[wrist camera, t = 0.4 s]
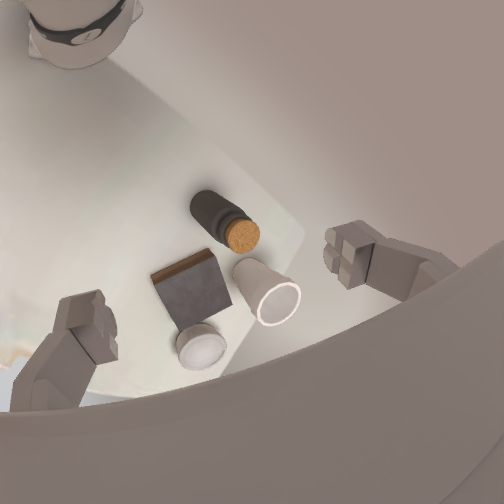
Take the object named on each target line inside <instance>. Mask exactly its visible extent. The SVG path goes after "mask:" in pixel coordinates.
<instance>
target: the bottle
mask: <svg viewBox="0 0 504 504" xmlns="http://www.w3.org/2000/svg"><path fill="white" fill-rule="evenodd" d="M190 211H191V214H192V216H193V217H194V218H195V219H196V220H197V222H198V223H199V224H200V225H201V226H202V227H203V228H204V229H205V230H206V231H207V232H208V233H209V234H210V235H211V236H212V237H213V238H214V239H215V240H217V241H218V242H220V243H222V244H224V245H225V246H226V247H228V248H230V249H231V250H232V251H234V252H236V253H240V254H242V253H246V252H249V251H250V250H252V249H253V248H254V247H255V246H256V244H257V243H258V240H259V237H260V231H259V227H258V226H257V224H256V223H254V222H253V221H252V220H251V218H249V217H248V216H247V215H246V214H245V212H244V211H243V210H242V209H240V208H239V207H238V206H236V205H234V204H233V203H231V202H230V201H228V200H226V199H225V198H223V197H222V196H220V195H218V194H217V193H215V192H213V191H209V190H205V191H202V192H199V193H198V194H197V195H196V196H195V197H194V198H193V199H192V202H191V205H190Z"/></svg>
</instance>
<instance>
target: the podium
mask: <svg viewBox="0 0 504 504" xmlns="http://www.w3.org/2000/svg"><path fill="white" fill-rule="evenodd" d="M151 278H152V281H153V284H154V286H155V289H156V290H157V292H158V294H159V296H160V298H161V300H162V301H163V303H164V305H165V307H166V309H167V310H168V312H169V314H170V316H171V318H172V319H173V321H174V323H175V324H176V326H177V328H178V330H179V331H180V332H181V331H183V330H185V329H187V328H188V327H190V326H192V325H194V324H196V323H198V322H200V321H202V320H204V319H206V318H208V317H210V316H212V315H214V314H216V313H218V312H220V311H222V310H223V309H225V308H227V307H229V306H231V305H233V304H232V301H231V299H230V296H229V293H228V290H227V287H226V285H225V282H224V279H223V276H222V273H221V270H220V267H219V264H218V261H217V258H216V256H215V255H214V254H213V253H212V252H211V251H210V250H209V249H208V248H207V249H205V250H203V251H201V252H198V253H196V254H194V255H192V256H190V257H188V258H186V259H184V260H182V261H180V262H178V263H176V264H173V265H171V266H169V267H167V268H165V269H163V270H161V271H159V272H157V273H155V274H153V275H151Z"/></svg>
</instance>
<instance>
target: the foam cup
mask: <svg viewBox="0 0 504 504" xmlns="http://www.w3.org/2000/svg"><path fill="white" fill-rule="evenodd" d="M232 275H233V279H234V281H235V283H236V285H237V287H238V288H239V290H240V292H241V293H242V295H243V297H244V299H245V300H246V302H247V304H248V305H249V307H250V309H251V312H252V314H253V315H254V316H255V317H256V318H257V319H258V320H259V321H260V323H262V325H266V326H274V325H278V324H281V323H282V322H284V321H285V320H287V319H288V318H289V317H290V316H291V315H292V314H293V313H294V312H295V310H296V309H297V307H298V305H299V302H300V300H301V290H300V289H299V287H298V285H297V284H296V283H295V282H294V281H292V280H291V279H290V278H288V277H285V276H283V275H281V274H279V273H278V272H276V271H274V270H273V269H271V268H269V267H267V266H266V265H264V264H262V263H261V262H259V261H257V260H255V259H253V258H245V259H243V260H241V261H239V262H238V263H237V265H236V266H235V267H234V270H233V273H232Z"/></svg>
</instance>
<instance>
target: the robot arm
mask: <svg viewBox="0 0 504 504" xmlns="http://www.w3.org/2000/svg"><path fill="white" fill-rule="evenodd" d="M19 1H21V2H22V3H23V4H24V5H25V6H26V7H27V8H28V12H29V13H30V17H31V19H30V20H29V21H28V27H29V28H30V34H29V46H28V54H29V56H30V57H31V58H36V59H45V60H47V61H49V62H50V63H52V64H53V65H55V66H57V67H60V68H65V69H78V68H83V67H87V66H90V65H93V64H95V63H97V62H99V61H101V60H102V59H104V58H106V57H107V56H108V55H110V54H111V53H112V52H113V51H114V50H115V49H116V48H117V47H118V46H119V44H120V43H121V42H122V40H123V39H124V37H125V35H126V33H127V31H128V29H129V27H130V26H131V24H133V22H135V21H136V20H137V19H138V18H139V17H140V16H141V15H142V13H143V7H142V5H141V3H140V2H139V0H19ZM325 240H326V242H327V245H326V246H325V248H324V253H323V258H324V262H325V264H326V266H327V268H328V269H329V270H330V271H331V272H332V273H335V274H338V280H339V281H340V282H341V283H342V284H343V285H344V286H345V287H346V289H351V288H354V287H356V286H359V285H362V284H365V283H366V285H368V286H370V287H372V288H374V289H377V290H379V291H381V292H383V293H385V294H387V295H389V296H391V297H393V298H395V299H397V300H399V301H401V302H402V303H400V304H398V305H396V306H395V307H393V308H391V309H389V310H387V311H385V312H383V313H381V314H379V315H377V316H375V317H373V318H371V319H369V320H367V321H365V322H362V323H360V324H358V325H356V326H354V327H352V328H350V329H348V330H345V331H343V332H341V333H339V334H336V335H334V336H332V337H330V338H327V339H325V340H323V341H320V342H318V343H316V344H313V345H311V346H308V347H306V348H303V349H301V350H298V351H295V352H293V353H290V354H288V355H285V356H282V357H280V358H277V359H274V360H271V361H269V362H266V363H263V364H260V365H257V366H254V367H251V368H248V369H245V370H242V371H239V372H236V373H233V374H229V375H226V376H223V377H219V378H216V379H213V380H209V381H206V382H202V383H198V384H195V385H191V386H187V387H183V388H179V389H175V390H171V391H167V392H163V393H158V394H154V395H149V396H144V397H139V398H134V399H130V400H124V401H118V402H112V403H106V404H100V405H93V406H85V407H79V404H80V402H81V399H82V397H83V395H84V393H85V391H86V388H87V386H88V384H89V382H90V380H91V378H92V375H93V373H94V371H95V369H96V367H97V366H96V365H99V364H103V363H108V362H112V361H116V360H118V344H117V343H116V341H115V340H114V339H115V337H116V336H117V325H116V320H115V317H114V315H113V312H112V310H111V308H109V307H108V306H106V305H105V297H104V295H103V293H102V291H101V290H99V289H97V290H93V291H89V292H85V293H80V294H76V295H74V296H69V297H65V298H62V299H61V300H60V301H59V305H58V309H57V314H56V318H55V323H54V327H53V332H52V333H50V334H48V336H47V337H46V338H45V339H44V341H43V342H42V343H41V345H40V346H39V347H38V348H37V350H36V351H35V352H34V354H33V355H32V356H31V358H30V359H29V361H28V362H27V363H26V365H25V366H24V368H23V369H22V370H21V372H20V373H19V375H18V376H17V377H16V379H15V380H14V382H13V389H12V395H11V404H10V412H0V504H504V241H500V242H498V243H496V244H495V245H493V246H492V247H491V248H489V249H488V250H487V251H485V252H484V253H483V254H481V255H479V256H478V257H477V258H475V259H474V260H472V261H471V262H469V263H468V264H466V265H465V266H463V267H461V268H459V267H458V266H457V265H456V264H455V263H453V262H452V261H451V260H450V259H448V258H447V257H445V256H444V255H443V254H442V253H440V252H436V251H433V250H430V249H427V248H423V247H420V246H417V245H413V244H410V243H406V242H402V241H399V240H396V239H392V238H388V239H387V238H385V237H384V236H383V235H382V234H380V233H379V232H378V231H376V230H375V229H374V228H372V227H371V226H369V225H368V224H366V223H365V222H364V221H362V220H356V221H353V222H350V223H347V224H344V225H340V226H337V227H333V228H329V229H327V230H326V233H325Z"/></svg>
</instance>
